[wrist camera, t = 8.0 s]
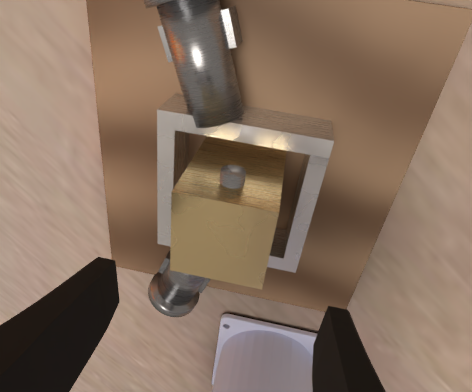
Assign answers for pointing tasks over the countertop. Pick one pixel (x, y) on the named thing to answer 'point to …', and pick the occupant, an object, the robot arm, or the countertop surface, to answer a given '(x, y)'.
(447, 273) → the countertop surface
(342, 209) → the walnut base plate
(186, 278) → the shaft
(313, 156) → the hollow square frame
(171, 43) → the shaft
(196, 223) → the wooden block
